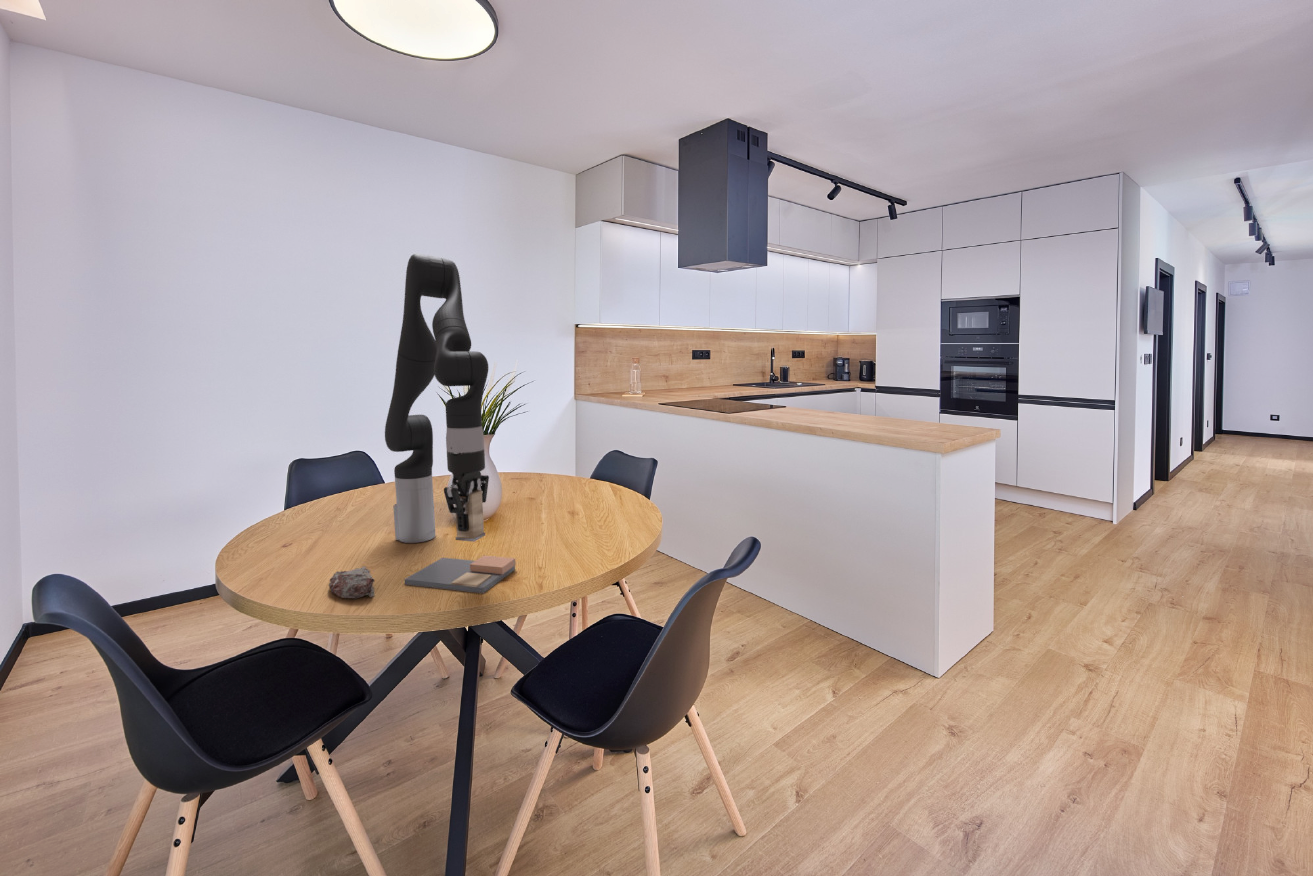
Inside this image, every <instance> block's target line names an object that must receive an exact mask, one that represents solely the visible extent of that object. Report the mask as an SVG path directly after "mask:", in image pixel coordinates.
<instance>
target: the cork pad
mask: <svg viewBox="0 0 1313 876" xmlns="http://www.w3.org/2000/svg"><path fill="white" fill-rule="evenodd" d="M490 577H491V575H487V574H477V573H468V572H467V573H465V574H464V575H462V576H461V577H459V578H458V579H456V580H454V581H453V582H451V584H452V585H461V586H470V587H478V586H479V585H480V584H482V583H483V582H485V581H486V580H487V579H489V578H490Z"/></svg>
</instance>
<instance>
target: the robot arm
mask: <svg viewBox="0 0 1313 876" xmlns="http://www.w3.org/2000/svg"><path fill="white" fill-rule="evenodd" d="M405 271H406V272H405V274H406V275H405V283H404V284H405V287H404V299H403V301H404V302H403V303H404V304H403V315H402V316H403V317H402V324H401V329H400V336H399V342H398V343H399V344H398V349H397V355H396V365H395V375H394V383H393V390H392V396H391V400H390V404H389V409H388V413H387V416H386V421H385V425H384V441H385V444H386V447H387V449H389V451H391V452H394V453H395V452H396V453H400V452H409V451H411V452H412V453H411V454H410V456H409V457H407V458H406V459H404V461H402V462H399V463H398V464H396V465H395V467H394V483H395V484H394V487H395V501H396V503H395V504H393V521H394V523H393V524H394V534H395V535H394V537H395V539H394V540H396V541H399V542H401V543H405V544H416V543H423V542H428V541H430V540H433V539H434V538H436V518H435V517H436V516H435V506H434V505H435V504H434V503H435V502H434V486H433V485H434V484H433V482H434V481H433V466H434V465H433V464H434V435H433V434H434V431H433V425H432V423H431V419H430V418H429V417H428V416H427V415H424V414H411V415H410V412H411V409H412V407H413V404H414V403H415V401H416V400H417V399H418V398H419V396H421V395H422V393H423V392H424V391H425V390H426V389H427V387H428V386H429V385H430V384H431V382H432V380H433V379H434V378H435V379H436V380H437V382H438V383H439V384H441V385H442V386H444V387H468V386H469V388H468V390H467V392H466V393H465V394H464V395H461V396H456V397H453V398H450V399H448V400H446V402H445V421H446V422H445V423H446V431H445V433H446V434H445V435H446V436H445V439H446V440H445V447H446V462H447V471H449V473H451V474H452V482H451V485H450V486H445V487H444V488H443V494H444V498H445V500H446V503H447V507H448V511H449V513H450V514H455V515H456V514H457V522H458V523H457V524H458V530H459V531H464V532H466V531H468V530H469V518H468V514H467V513H468V503H470V494H472V492H474V491H479V490H482V503H483V504H484V503H486V502H487V497H488V496H487V495H488V489H489V488H488V486H489V481H490V480H489V479H490V476H489V474H488V475H486V474H485V475H484V474H482V473H481V472H482V471H484V470H485V469H486V458H485V455H486V454H485V453H486V451H485V437H484V435H485V434H484V430H483V419H482V417H483V416H482V414H483V413H482V403H483V395H484V390H485V387H486V383H487V378H488V374H489V362H488V360H487V357H486V356H485V355H484V354H483V353H482V352H480V351H478V350H477V351H475V350H474V351H472V350H471V348H472V340H471V336H470V333H469V329H468V327H467V323H466V320H465V314H464V305H463V304H464V303H463V296H462V287H461V279H460V278H461V277H460V273H459V272H460V271H459V269H458V266H457V265H456V263H455V262H454V261H453V260H451V259H449V258H448V259H447V258H442V257H439V256H438V257H437V256H432V255H426V254H421V253H413V254H411V256H410V257H409V259H408V262H407V267H406V270H405ZM422 297H427V298H435V299H445V301H444V302H443V303H442V304H441V305H440V306H439V308H438V309H437V310H436V312H435V313H434V316H433V318H432V324H431V325H432V326H431V328H432V332H431V329H430V327H429V326H428V323H427V322H426V320H425V317H424V314H423V311H422V307H421V299H422ZM460 497H466V498H465V499H460ZM461 502H463V503H464V505H463V507H462V503H461Z"/></svg>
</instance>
